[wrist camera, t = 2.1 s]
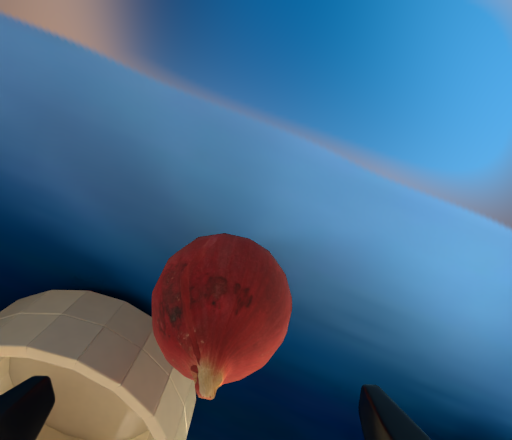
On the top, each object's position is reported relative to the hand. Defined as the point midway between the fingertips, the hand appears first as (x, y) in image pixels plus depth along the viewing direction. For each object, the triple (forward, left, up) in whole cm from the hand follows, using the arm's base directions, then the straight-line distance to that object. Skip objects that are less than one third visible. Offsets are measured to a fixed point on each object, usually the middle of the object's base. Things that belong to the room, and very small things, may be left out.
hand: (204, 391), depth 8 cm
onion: (0, 0, -8) cm, 8 cm away
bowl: (+9, +8, -8) cm, 15 cm away
